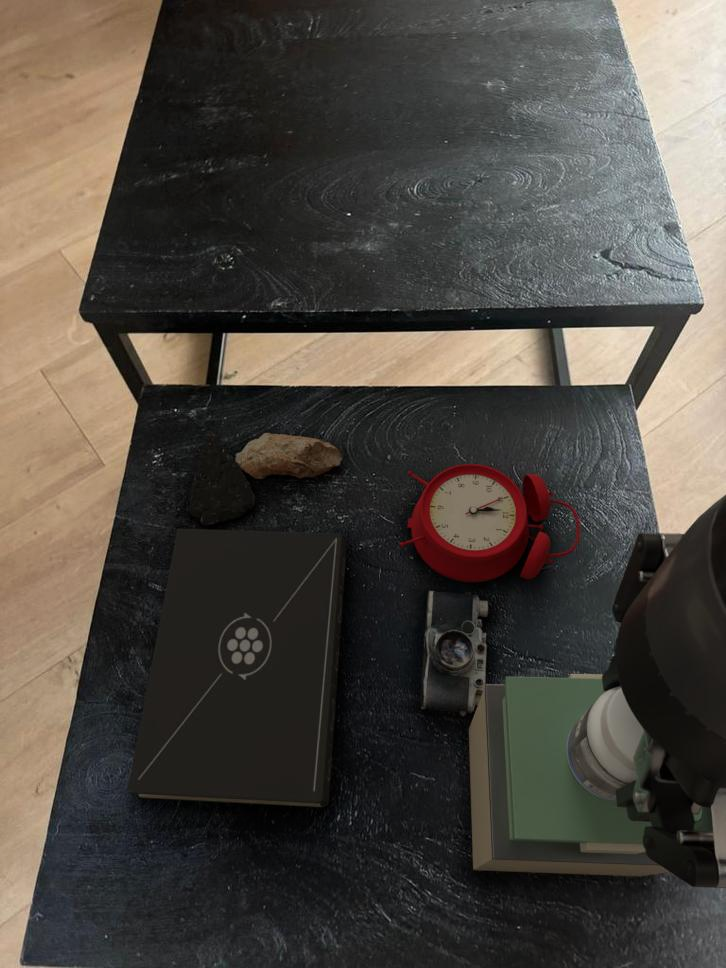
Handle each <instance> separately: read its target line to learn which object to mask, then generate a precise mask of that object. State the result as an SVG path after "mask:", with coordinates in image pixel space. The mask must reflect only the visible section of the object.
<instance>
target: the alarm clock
mask: <svg viewBox="0 0 726 968" xmlns="http://www.w3.org/2000/svg"><path fill="white" fill-rule="evenodd" d="M407 476H408V477H412V478H414V479H415V480H417V481H418V482H419V483H421V484H422V485H423V486H425V488H424V489H423V491H422V493H421V496H420V498H419V499H418V501H417V503H416V504H415V506H414V509H413V512H412V516H411V517H408V520H407V521H408V522H407V528H409V529H410V530H411V531H410V533H411V538H412V539H409V540H407V541H405V542H399V543H398V546H399V548H404V546H405V545H409V544H412V543H413V544H414V547H415V549H416V551H417V553H418V555H419V556H420V558H421V559H422V560H423V561H424V563H425V564H427V565H428V566H429V568H431V569H432V570H434V571H435V572H436V573H438V574H439V575H441V576H443V577H445V578H448V579H450V580H454V581H459V582H463V583H482V582H488V581H491V580H494V579H497V578H499V577H501V576H503V575H504V574H506V573H507V572H509V571H510V570H511V569H512V568H514V567H515V566H516V565H517V563H518V562H520V559H521V558H522V556H523V554H524V553H525V550H526V548H527V545H528V543H529V539H531V540H533V541H534V543H533V545H532V547H531V549H530V551H529V553H528V556H527V559H526V561H525V563H524V565H523V567H522V571H521V573H520V577H521V578H522V579H526V580H531V579H533V578H536V576H537V575H538V574H539V573H540V571H541V570H542V569H543V567H544V565H545V563H547V564H550V565H552V564H553V560H551V559H550V558H556V557H562V556H567V555H569V554H571V553H572V552H573V551H574V550H576V548H577V546H578V544H579V541H580V534H581V527H580V526H581V525H580V519H579V516H578V513H577V512H576V510H575V509H574V508H573V507H572V506H571V504H569V503H567V502H564V501H560V500H556V499H552V498H550V496H553V495H554V492H553V491H549V489H548V487H547V484H546V483H545V481H544V480H543V478H542V477H541V476H539V475H538V474H535V473H531V474H526V475H524V477H523V479H522V492H521V489H520V488H519V487H518V486H517V484H516V483H515V482H514V481H513V480H512V479H511V478H510V477H509V476H508V475H506V474H504V473H503V472H501V471H500V470H497V469H496V468H493V467H491V466H488V465H483V464H479V463H478V464H477V463H476V464H475V463H463V464H458V465H454V466H451V467H447V468H446V469H444V470H442V471H440V472H439V473H438V474H436V475H435V476H434V477H433V478H432V479H431V480H430V481H429V483H428V482H427V481H426V480H424V479H423V478H420V477H418V476H416V475H415V474H413V471H411V470H409V471H408V472H407ZM551 503H553V504H557V505H561V506H564V507H566V508H568V509H569V510H570V511H571V512H572V514H573V517H574V519H575V523H576V535H575V536H576V537H575V541H574V543H573V545H572V546H571V548H570V549H568V550H566V551H564V552H563V551H562V552H558V553H549V552H550V548H551V540H550V536H548V534H547V533H545V532H543V530H544V524H543V523H540V524H529V520H528V516H530V518H531V519H532V521H534V522H535V523H536V522H541V521H543V520H545V519H546V518H547V517H548V516H549V514H550V511H551ZM530 528H536V529H539V532H538V534H537V535H536V538H535V537H533V536H530Z"/></svg>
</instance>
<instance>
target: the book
mask: <svg viewBox="0 0 726 968" xmlns="http://www.w3.org/2000/svg"><path fill="white" fill-rule="evenodd" d="M347 546H348V541H347V538H345V536H344V535H343V534H341V533H337V532H335V533H333V532H303V531H302V532H301V531H300V532H299V531H296V532H295V531H271V530H270V531H267V530H238V529H237V530H235V529H234V530H233V529H206V528H205V529H203V528H202V529H201V528H178V529H177V530H176V533H175V539H174V544H173V550H172V554H171V560H170V565H169V571H168V575H167V581H166V586H165V592H164V595H163V596H164V597H163V602H162V607H161V612H160V618H159V623H158V628H157V633H156V639H155V643H154V648H153V654H152V660H151V665H150V670H149V675H148V680H147V686H146V691H145V696H144V702H143V707H142V712H141V717H140V723H139V726H138V727H139V728H138V732H137V739H136V744H135V748H134V754H133V760H132V765H131V770H130V774H129V775H130V776H129V780H128V785H127V789H126V790H127V793H128V794H135V795H138V798H139V799H149V800H151V799H152V800H168V801H169V800H170V801H186V802H187V801H188V802H204V803H205V802H206V803H223V804H224V803H226V804H242V805H243V804H246V805H264V806H283V807H299V808H300V807H301V808H305V807H306V808H320V809H321V808H325V807H327V806H329V803H330V790H331V776H332V775H331V774H332V761H333V748H334V747H333V746H334V735H335V734H334V732H335V721H336V717H335V716H336V706H337V705H336V704H337V691H338V690H337V689H338V676H339V661H340V659H339V658H340V649H341V648H340V645H341V633H342V619H343V618H342V617H343V603H344V590H345V588H344V587H345V576H346V575H345V574H346V560H347V548H348V547H347Z"/></svg>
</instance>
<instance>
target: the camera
mask: <svg viewBox="0 0 726 968" xmlns="http://www.w3.org/2000/svg"><path fill="white" fill-rule="evenodd" d="M488 614H489V602H488V600H481V599H480V598H479V596H478V595H477V594H473V593H472V592H471V591H469V590H466V591H464V592H462V593H459V592H458V593H457V592H447V591H436V590H428V593H427V602H426V615H425V628H424V640H423V641H424V642H423V656H422V657H423V658H422V666H421V681H420V683H421V684H420V693H419V694H420V695H419V701H420V703H419V704H420V709H421V710H432V711H443V712H447V713H448V712H453V713H459V714H460V715H461V716H462V717H464V716H465V715H466V714H467V713H468V714H472V713H473V712H475V708H476V706H478V704H479V701H480V699H481V696H482V693H483V691H484V688H485V685H486V673H487V671H486V668H487V667H486V666H487V648H488V647H487V643H486V642H487V632H483V630H482V628H483V622H482V619H480V618H479V617H483V618H486V617H488Z"/></svg>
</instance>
